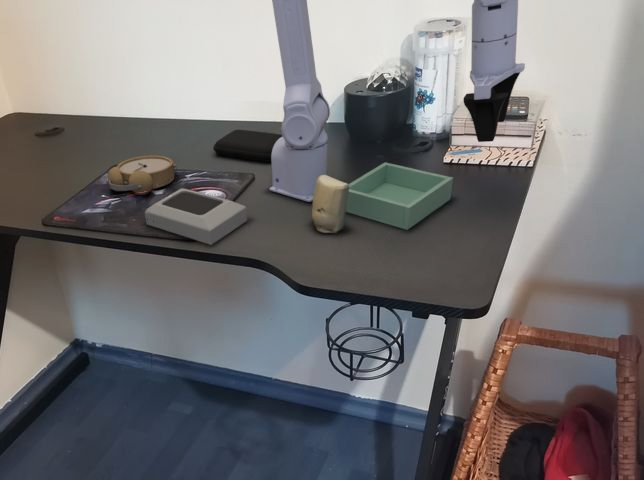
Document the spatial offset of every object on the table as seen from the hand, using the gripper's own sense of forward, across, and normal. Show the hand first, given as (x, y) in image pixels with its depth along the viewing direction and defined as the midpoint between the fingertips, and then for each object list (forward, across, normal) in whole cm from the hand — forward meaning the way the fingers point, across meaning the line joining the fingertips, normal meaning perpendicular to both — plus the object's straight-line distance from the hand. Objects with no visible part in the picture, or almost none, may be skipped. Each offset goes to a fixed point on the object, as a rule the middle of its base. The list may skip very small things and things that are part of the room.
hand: (491, 131), depth 96 cm
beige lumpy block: (+8, -17, +20) cm, 28 cm away
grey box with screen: (+5, -22, +42) cm, 48 cm away
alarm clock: (+3, -12, +61) cm, 62 cm away
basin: (+9, -7, +13) cm, 17 cm away
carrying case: (+5, +9, +47) cm, 48 cm away
